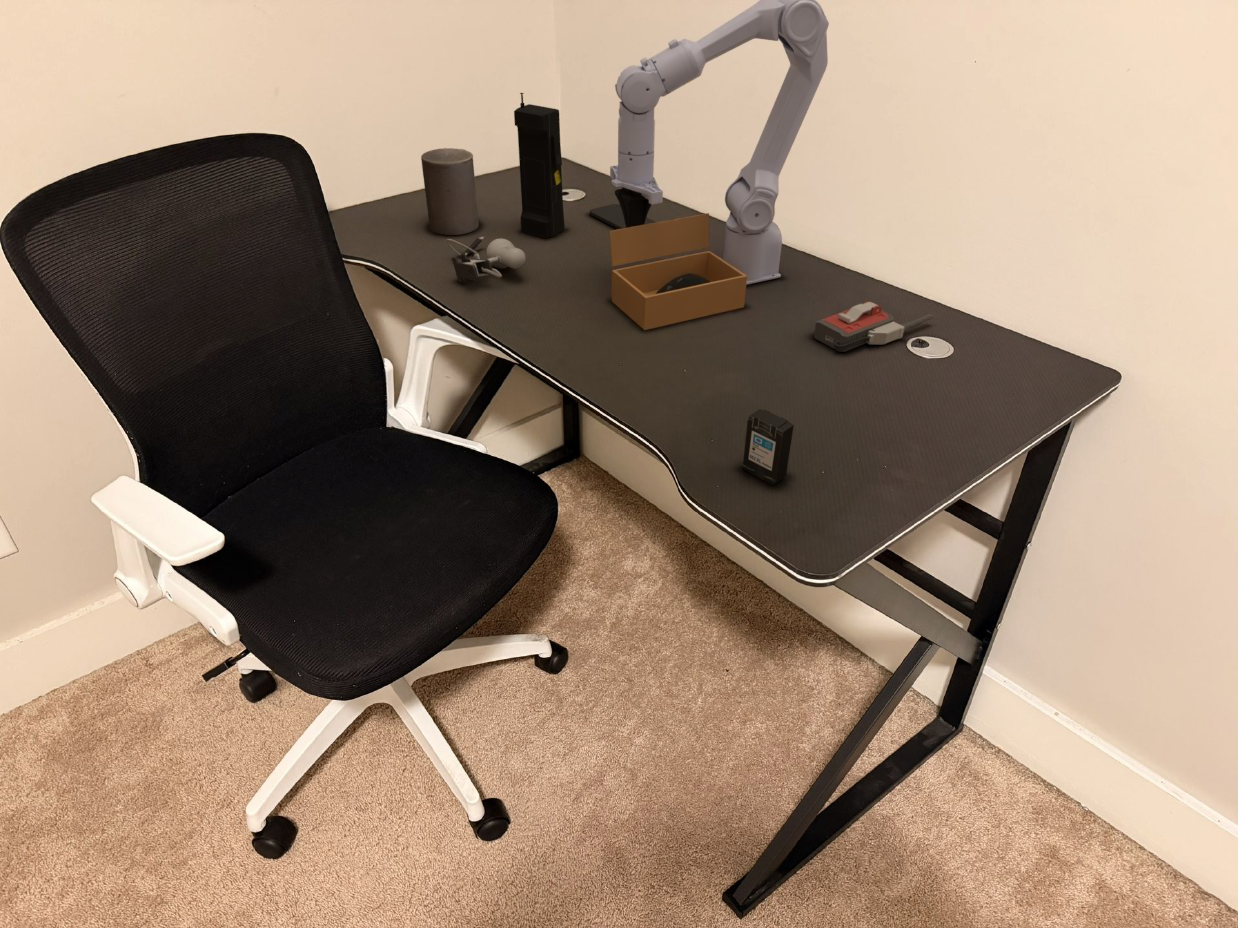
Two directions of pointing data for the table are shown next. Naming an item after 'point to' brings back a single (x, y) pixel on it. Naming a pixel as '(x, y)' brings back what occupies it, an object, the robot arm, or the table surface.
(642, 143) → the robot arm
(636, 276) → the carton
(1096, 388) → the table surface
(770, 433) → the ink cartridge
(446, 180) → the pillar candle
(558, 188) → the portable radio
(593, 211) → the phone
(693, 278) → the gaming mouse
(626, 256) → the flap
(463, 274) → the clip-on lamp
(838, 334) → the walkie-talkie
